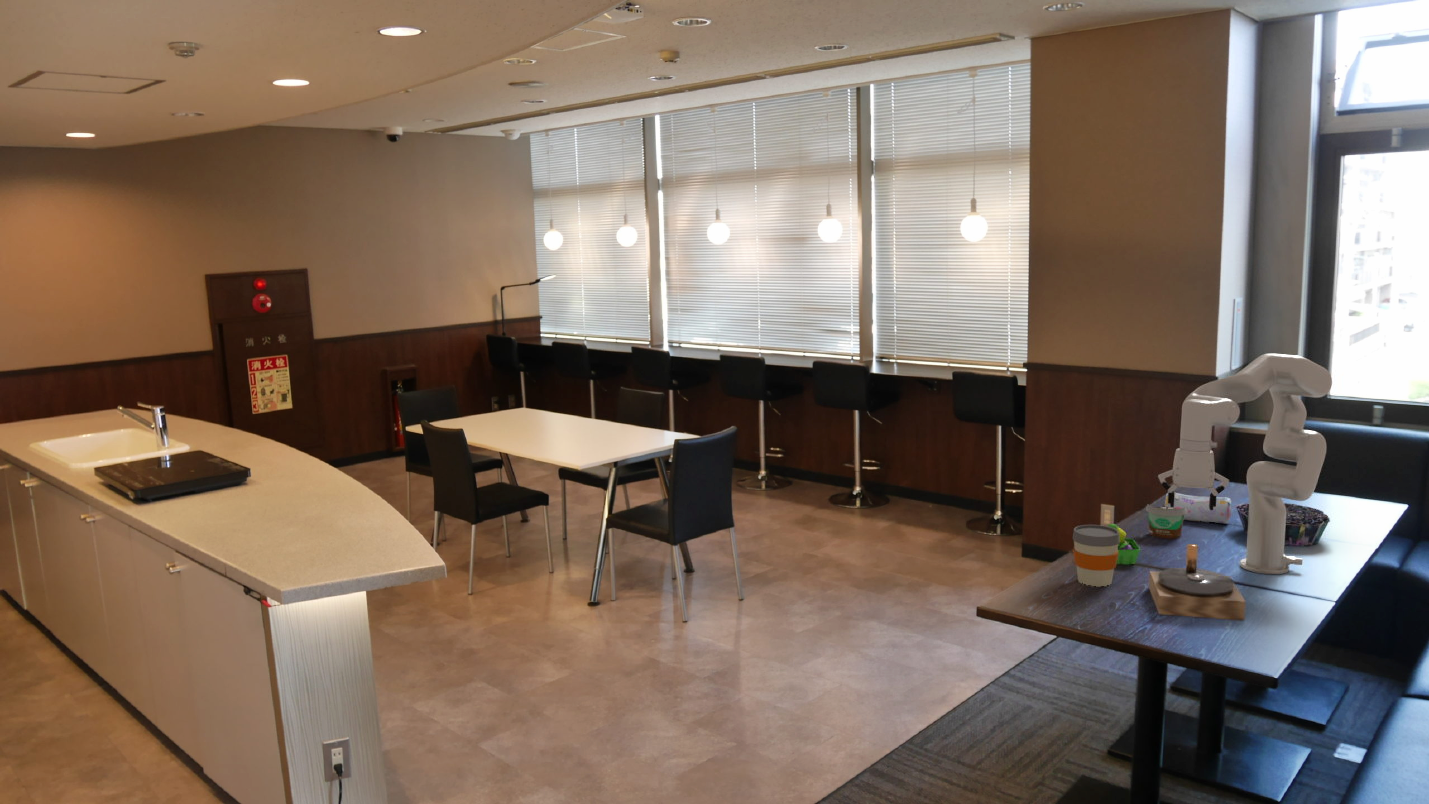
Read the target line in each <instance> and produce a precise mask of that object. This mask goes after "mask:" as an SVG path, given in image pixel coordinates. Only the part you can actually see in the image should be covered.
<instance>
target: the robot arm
mask: <svg viewBox="0 0 1429 804" xmlns="http://www.w3.org/2000/svg"><path fill="white" fill-rule="evenodd" d="M1332 385H1333V378H1332V375H1331V373H1330V371H1329V370H1328V369H1326V368H1325V367H1324V366H1322V365H1319V364H1318V363H1316V362H1314V361H1312V360H1310V359H1308V358H1305V357H1304V356H1300V355H1293V354H1282V353H1264V354H1262V355H1259V356H1257V358H1255V359H1254V360H1253V361H1251V362H1249V363H1248V365H1245V367H1244V368H1242V369H1241V370H1239V371H1238V372H1237V373H1236V374H1232V375H1230V376H1227V377H1226V376H1225V377H1222V378H1220V379H1216V380H1212V381H1209V382H1207V383H1205V384H1202V385H1201V386H1198V387H1197V388H1196V389H1195V390H1194V391H1191V393H1189V394H1188V395H1187V396H1186V398H1185V399H1184V401H1183V402H1182V406H1181V422H1180V435H1179V436H1180V438H1179V447H1178V448H1176V449H1175V453H1174V458H1173V465H1172V469H1170V470H1167V471H1165V472H1162V473H1159V474H1158V475H1157V478H1158V480H1159V482H1160V484H1161V486H1162V487H1163V488H1164V489H1165V490H1166V491H1167V493H1168V503H1170V506H1171V507H1174V495H1175V494H1174V492H1175V490H1176V489H1177V488H1178V487H1180V488H1191V489H1192V488H1193V489H1208V490H1209V491H1210V494H1209V497H1210V499H1209V508H1210V510H1213V507H1216V497H1218V495H1219V494H1220V493H1222V492H1223V491H1225V489H1226V487H1227V486H1228V485H1229V483H1230V479H1228V478H1226V477H1225V476H1223V475H1221V474H1219V473H1217V472H1215V455H1214V454H1215V453H1214V451H1213V449H1214V448H1217V447H1218V442H1215V441H1213V440H1212V436H1213V435H1212V433H1213V431H1212V430H1213V426H1215V427H1216V426H1217V427H1218V426H1219V427H1227V426H1231V425H1233V424H1234V423H1236V422H1237V420H1238V419H1239V417H1240V413H1241V410H1240V406H1239V405H1238V404H1242V403H1245V402H1246V403H1248V402H1251V401H1255V400H1256V399H1259V398H1260V397H1261V396H1262V395H1263V394H1264V393H1265V392H1267V391H1269V393H1270V395H1271V399H1272V402H1273V411H1272V414H1271V418H1270V420H1269V423H1268V426H1267V427H1268V428H1267V430H1266V434H1265V437H1264V440H1263V447H1262V448H1263V453H1264V454H1265V455H1267V456H1268V457H1270V458H1273V459H1275V460H1276V459H1277V460H1282V461H1288V462H1295V463H1296V465H1291V464H1285V463H1281V462H1276V461H1275V462H1273V461H1267V460H1264V461H1262V460H1261V461H1256V462H1254V463H1252V464H1251V465H1250V466H1249V467H1248V469H1247V471H1246V472H1247V473H1246V484H1247V488H1248V489H1247V490H1248V503H1249V516H1248V533H1246V534H1247V537H1246V540H1247V541H1246V554H1245V556H1246V557H1245V558H1242V559H1240V561H1239V566H1240V567H1241V568H1242V569H1245V570H1246V571H1250V572H1253V573H1258V574H1265V575H1280V574H1281V575H1282V574H1286V573H1288V572H1289V571H1290V565H1296V566H1302V565H1303V558H1301V557H1300V558H1299V557H1296V556H1291V555H1290V556H1287V555H1286V554H1285V545H1284V543H1285V527H1286V508H1285V505H1284V503H1285V502H1284V501H1283V499H1286V500H1291V501H1298V502H1304V501H1308V500H1309V499H1310V498H1311V497H1312V496H1313V494H1314V491H1315V489H1316V486H1317V484H1318V480H1319V477H1320V473H1321V471H1322V468H1323V464H1324V462H1325V458H1326V455H1327V442H1326V438H1325V436H1324V435H1322V433H1320V432H1318V431H1315V430H1309V429H1304V428H1305V423H1306V420H1307V409H1306V406H1305V404H1304V403H1303V401H1302V399H1301V398H1300V397H1307V398H1322V397H1324V396H1326V395H1328V393H1329V392H1330V390H1331V389H1332ZM1169 477H1171V480H1172V483H1171V484H1169V483H1168V482H1167V481H1166V478H1169ZM1215 479H1216V480H1218V481H1219V482H1221V483H1220V484H1219V485H1218V486H1217V487H1215Z"/></svg>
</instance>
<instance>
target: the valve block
mask: <svg viewBox="0 0 1429 804" xmlns="http://www.w3.org/2000/svg"><path fill="white" fill-rule="evenodd" d="M1160 572H1161V571H1155V570H1153V571H1152V570H1149V582H1148V589H1149V591H1150V594H1151V598H1152V600H1153V603H1154V605H1155V607H1156V610H1157V612H1158V615H1165V616H1167V615H1168V616H1181V617H1194V618H1207V619H1220V620H1221V619H1222V620H1236V621H1245V615H1246V600H1245V598H1244V597H1243V595H1242V593H1241V591H1240V590H1239V589H1238V587H1237V586H1236V584H1235V583H1234V590H1233V591H1232V592H1231V593H1229V594H1227V595H1222V596H1195V595H1188V594H1183V593H1178V592H1175V591H1172V590H1169V589H1167V588H1165V587H1163V586H1162V585H1160V584H1159V581H1158V577H1159V573H1160ZM1226 576H1227V577H1229V578H1231V576H1230V575H1226Z"/></svg>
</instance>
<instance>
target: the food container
mask: <svg viewBox="0 0 1429 804" xmlns="http://www.w3.org/2000/svg"><path fill="white" fill-rule="evenodd" d="M1145 507H1146V508H1145V511H1146V512H1147V517H1148V520H1147V521H1148V531H1149V532H1148V533H1149V535H1150V536H1152V537H1154V538H1157V537H1158V538H1157V539H1161V540H1162V539H1163V540H1175V539H1180V538H1181V537H1182V531H1183V524H1184V521H1185V520H1184V515H1185V514H1187V510H1186V508H1185V507H1184V508H1182V509H1178V508H1171V507H1163V506H1152V505H1149V504H1148V503H1147V504H1146V506H1145Z"/></svg>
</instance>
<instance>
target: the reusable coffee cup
mask: <svg viewBox="0 0 1429 804" xmlns="http://www.w3.org/2000/svg"><path fill="white" fill-rule="evenodd" d="M1072 540H1073V544H1074V545H1073V558H1074V561H1073V562H1074V564H1075V566H1076V574H1077V581H1078V583H1080V584H1082V583H1083V584H1082V585H1084V584H1086V585H1085V586H1088V585H1091V586H1090V587H1094V586H1096V588H1099V587H1100V588H1101V586H1104V587H1108V586H1107V585H1109V586H1110V584H1112V583H1113V575H1114V572H1115V568H1116V567H1117V558H1118V550H1117V548H1118V544H1119V543H1120V537H1119V531H1118V530H1116V529H1114V528H1111V527H1108V525H1099V524H1082V525H1077V526H1075V527H1074V528H1073V532H1072Z"/></svg>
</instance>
